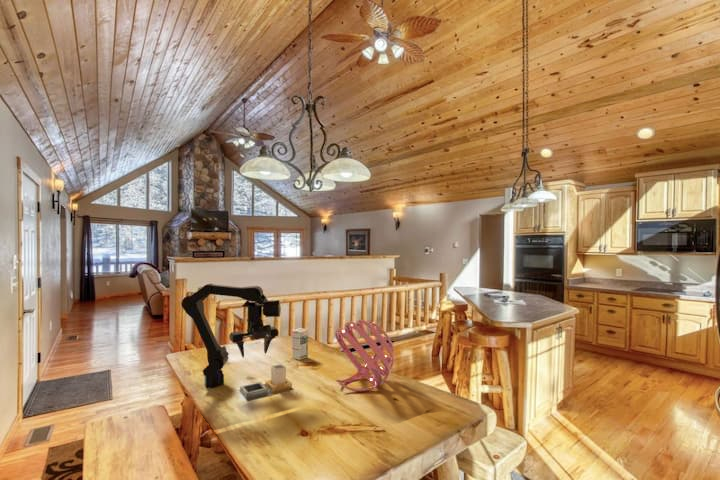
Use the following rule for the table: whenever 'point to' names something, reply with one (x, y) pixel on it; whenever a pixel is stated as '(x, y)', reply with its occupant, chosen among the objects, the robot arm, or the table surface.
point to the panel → (264, 389)
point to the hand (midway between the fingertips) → (254, 355)
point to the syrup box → (299, 343)
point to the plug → (278, 375)
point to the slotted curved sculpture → (370, 361)
